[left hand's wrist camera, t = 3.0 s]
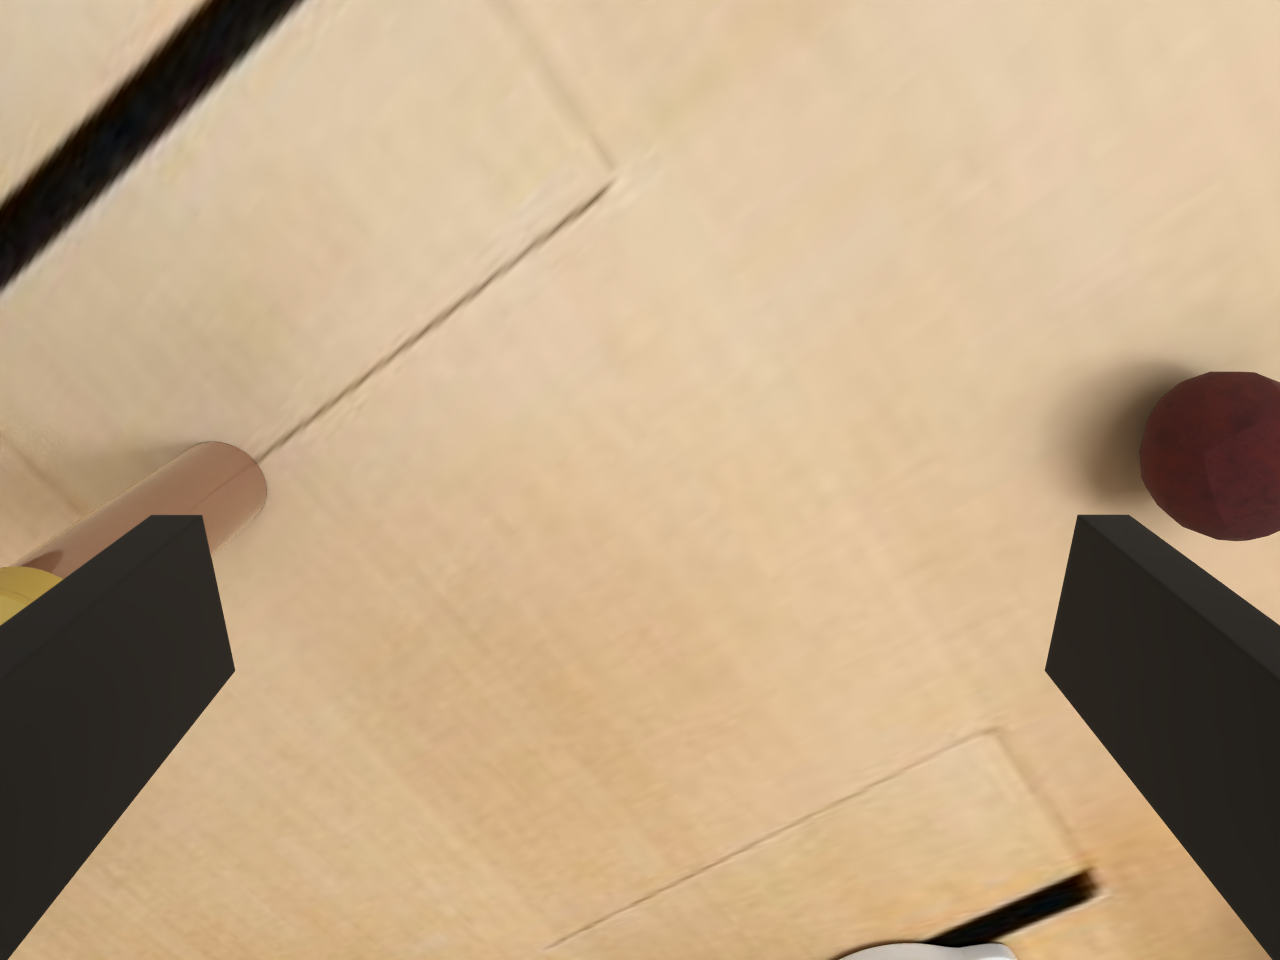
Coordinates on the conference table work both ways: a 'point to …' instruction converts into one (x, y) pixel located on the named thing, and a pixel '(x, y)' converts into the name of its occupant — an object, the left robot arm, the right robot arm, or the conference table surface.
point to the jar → (165, 506)
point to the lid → (22, 588)
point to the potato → (1217, 455)
